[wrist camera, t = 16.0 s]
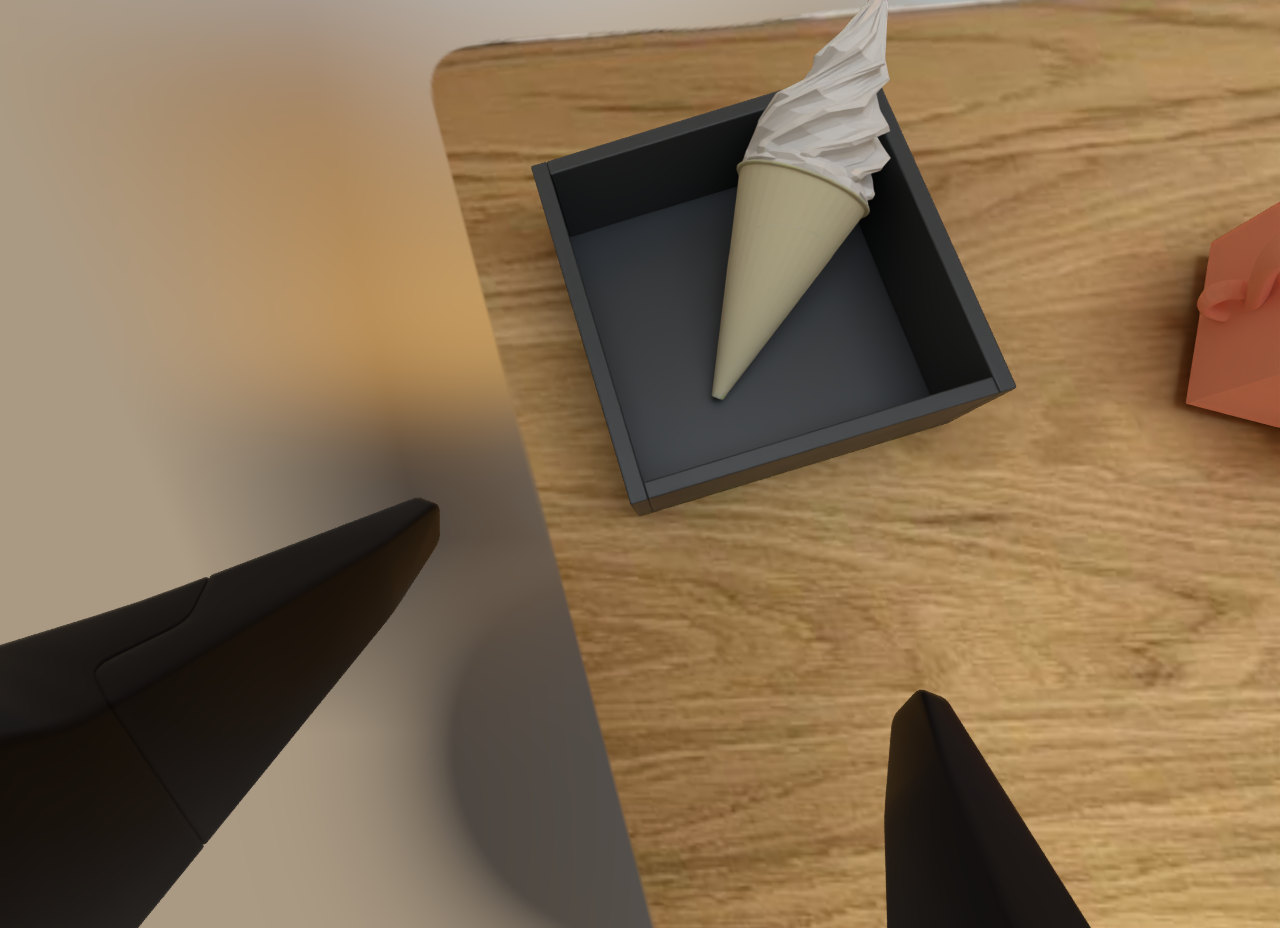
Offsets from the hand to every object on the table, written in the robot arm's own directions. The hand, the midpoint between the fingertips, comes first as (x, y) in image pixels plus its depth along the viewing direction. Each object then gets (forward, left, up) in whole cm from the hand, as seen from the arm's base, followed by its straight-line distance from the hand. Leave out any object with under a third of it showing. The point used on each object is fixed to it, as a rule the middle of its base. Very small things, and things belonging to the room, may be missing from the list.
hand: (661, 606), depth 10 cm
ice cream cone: (+4, +6, -11) cm, 14 cm away
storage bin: (+6, +9, -12) cm, 17 cm away
